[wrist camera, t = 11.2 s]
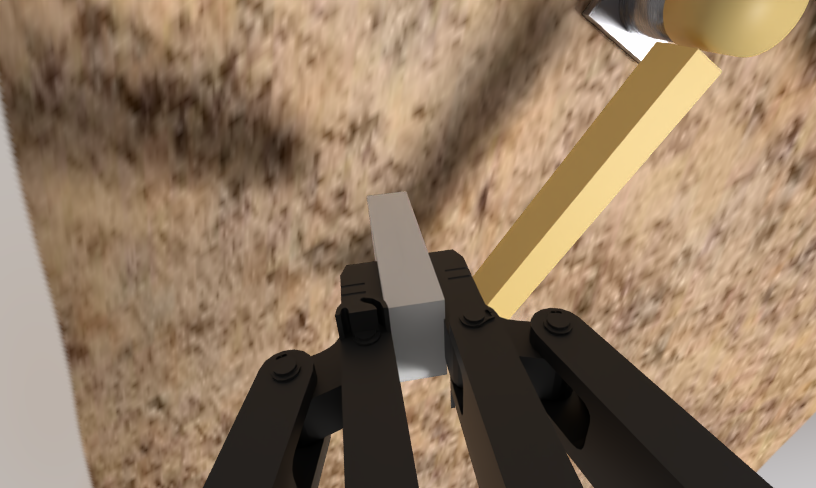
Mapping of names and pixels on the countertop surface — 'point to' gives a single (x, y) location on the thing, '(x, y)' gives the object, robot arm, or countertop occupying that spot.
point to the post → (630, 23)
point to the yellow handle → (628, 135)
